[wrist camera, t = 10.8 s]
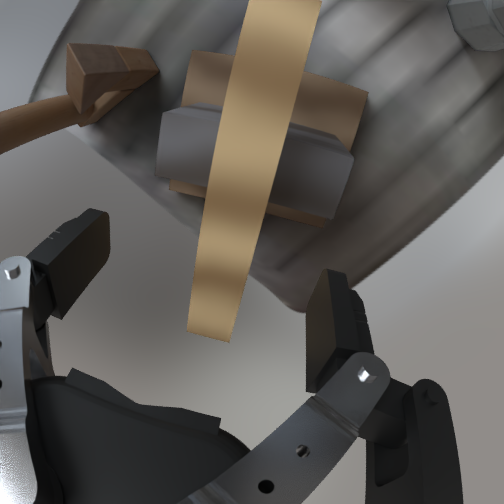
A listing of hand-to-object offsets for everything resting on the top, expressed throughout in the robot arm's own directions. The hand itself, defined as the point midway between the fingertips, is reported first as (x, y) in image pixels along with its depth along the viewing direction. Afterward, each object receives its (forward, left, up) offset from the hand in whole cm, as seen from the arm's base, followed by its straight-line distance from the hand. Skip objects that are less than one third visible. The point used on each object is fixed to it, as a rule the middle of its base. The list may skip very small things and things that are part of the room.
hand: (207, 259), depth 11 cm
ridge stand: (0, 0, -24) cm, 24 cm away
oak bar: (+1, 0, -12) cm, 12 cm away
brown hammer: (-3, -18, -25) cm, 31 cm away
